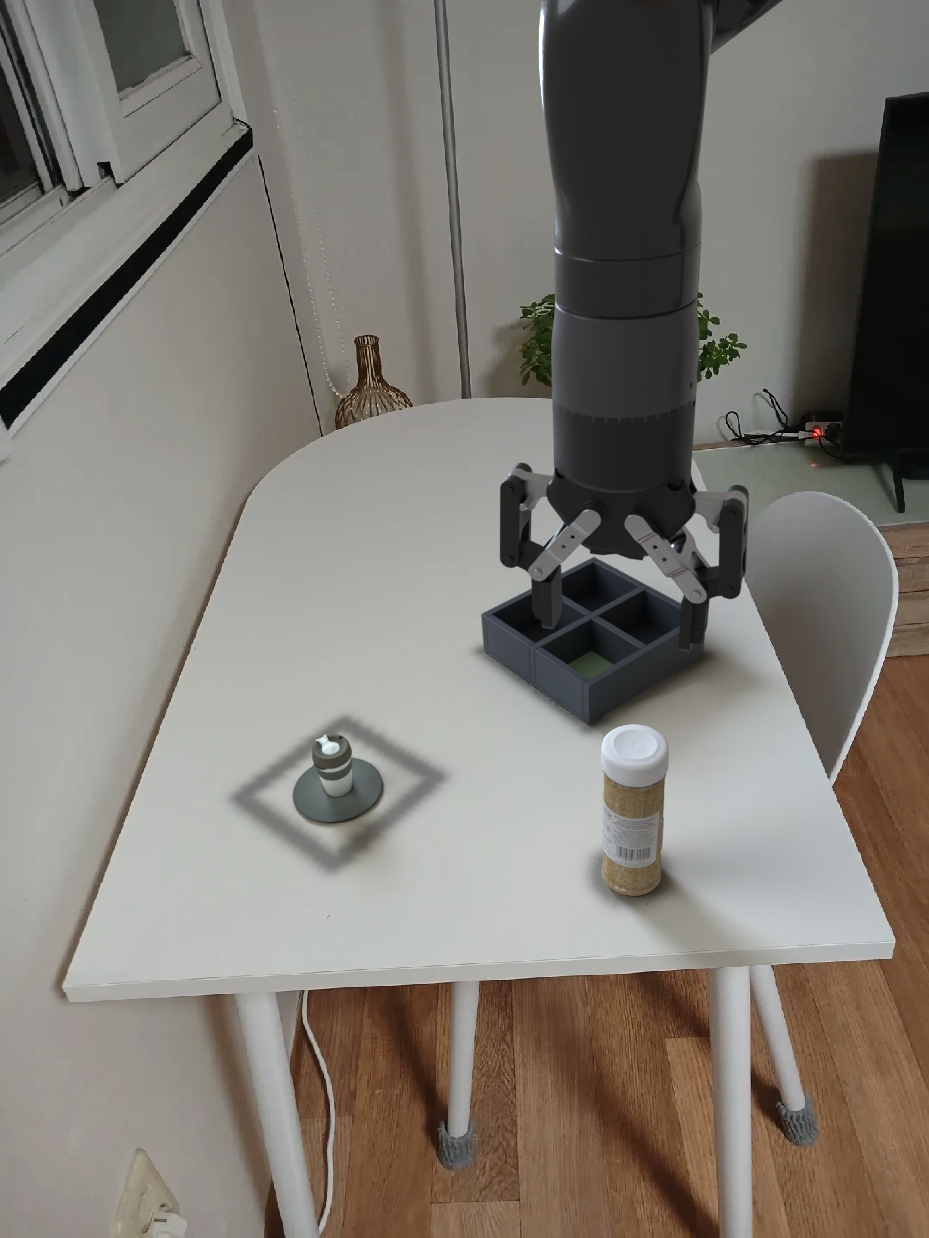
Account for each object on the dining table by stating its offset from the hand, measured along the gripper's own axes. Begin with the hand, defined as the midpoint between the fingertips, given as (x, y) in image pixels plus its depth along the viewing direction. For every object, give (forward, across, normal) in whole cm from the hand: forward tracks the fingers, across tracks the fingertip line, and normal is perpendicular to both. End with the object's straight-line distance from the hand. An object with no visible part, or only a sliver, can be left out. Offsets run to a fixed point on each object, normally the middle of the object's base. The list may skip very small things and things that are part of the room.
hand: (618, 632), depth 59 cm
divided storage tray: (+23, -9, +26) cm, 36 cm away
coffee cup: (+23, -25, +2) cm, 34 cm away
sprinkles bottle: (+23, +1, 0) cm, 23 cm away
